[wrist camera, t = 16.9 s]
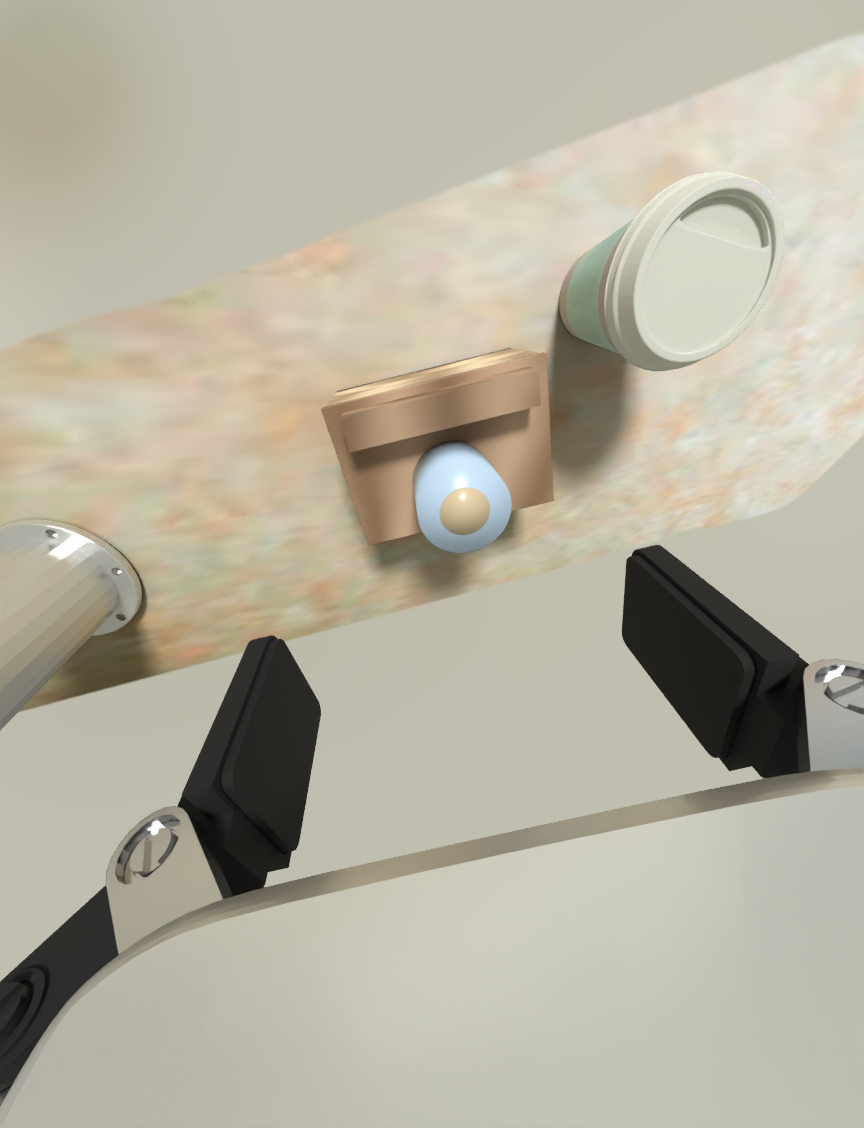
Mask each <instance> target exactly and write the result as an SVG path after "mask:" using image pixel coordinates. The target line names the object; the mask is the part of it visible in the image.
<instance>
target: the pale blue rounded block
mask: <svg viewBox="0 0 864 1128" xmlns="http://www.w3.org/2000/svg"><path fill="white" fill-rule="evenodd" d="M412 486H413V492H414V498H415V504H416V510H417V516H418V522H419V525H420V528H421V530H422V532H423V534H424V535H425V537H426V538H427V539H428V540H429V541H430V542H431V543H432V544H434V545H435V546H437V547H438V548H440V549H442V550H445V551H448V552H453V553H468V552H473V551H476V550H479V549H481V548H484V547H485V546H487V545H489V544H490V543H492V542H493V541H494V540H495V539H496V538H498V536H499V535H500V534H501V533H502V532H503V530H504V529H505V527H506V525H507V523H508V521H509V518H510V514H511V507H512V505H511V496H510V493H509V490H508V488H507V486H506V484H505V483H504V481H503V480H502V479H501V477H500V476H499V475H498V473H497V472H496V471H495V469H494V468H493V467H492V465H491V464H490V463H489V462H488V460H487V459H486V458H485V456H484V455H483V454H482V453H481V452H480V451H479V450H478V449H477V448H476V447H474V446H473V445H471V444H469V443H466V442H463V441H456V440H452V441H444V442H441V443H438V444H436V445H434V446H432V447H431V448H429V449H428V450H427V451H426V452H424V454H423V455H422V456H421V457H420V458H419V460H418V462H417V463H416V465H415V468H414V471H413V477H412Z"/></svg>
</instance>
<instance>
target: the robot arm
mask: <svg viewBox="0 0 864 1128" xmlns="http://www.w3.org/2000/svg"><path fill="white" fill-rule="evenodd" d="M624 593H625V594H624V607H623V623H622V636H623V640H624V642H625V644H626V645H627V647H628V648H629V650H630V651H631V652H632V653H633V655H634V656H635V658H636V659H637V660H638V661H639V663H640V664H641V665H642V667H643V668H644V669H645V671H646V672H647V673H648V675H649V676H650V677H651V679H652V680H653V681H654V683H655V684H656V685H657V686H658V688H659V689H660V690H661V692H662V693H663V694H664V696H665V697H666V698H667V700H668V701H669V702H670V704H671V705H672V706H673V707H674V709H675V710H676V712H677V713H678V714H679V716H680V717H681V718H682V720H683V721H684V722H685V723H686V725H687V726H688V727H689V729H690V730H691V731H692V733H693V734H694V735H695V737H696V738H697V739H698V740H699V742H700V743H701V745H702V746H703V747H704V749H705V750H706V751H707V752H708V753H709V754H710V755H711V756H712V757H714V758H718V757H719V758H720V760H721V761H722V762H723V764H725V766H726V767H727V769H728V770H729V771H732V770H737V769H741V768H746V767H750V766H753V768H754V769H755V770H756V771H757V772H758V773H759V775H760V776H761V777H763V779H762V780H756V781H751V782H746V783H741V784H736V785H730V786H725V787H720V788H715V789H710V790H705V791H700V792H695V793H690V794H685V795H680V796H676V797H671V798H666V799H662V800H657V801H652V802H647V803H643V804H638V805H633V806H629V807H624V808H619V809H614V810H610V811H605V812H600V813H596V814H591V815H587V816H582V817H577V818H572V819H568V820H563V821H558V822H554V823H549V824H545V825H540V826H536V827H531V828H526V829H522V830H517V831H512V832H508V833H503V834H499V835H494V836H489V837H485V838H480V839H476V840H471V841H467V842H462V843H457V844H453V845H448V846H444V847H440V848H435V849H430V850H426V851H422V852H417V853H413V854H408V855H403V856H399V857H394V858H391V859H386V860H381V861H377V862H372V863H368V864H363V865H359V866H354V867H350V868H345V869H341V870H337V871H332V872H327V873H323V874H319V875H315V876H311V877H307V878H302V879H298V880H294V881H290V882H286V883H282V884H278V885H274V886H270V887H265V888H264V885H265V882H266V877H267V873H268V872H270V871H275V870H279V869H284V868H288V867H289V862H290V857H291V852H292V851H294V850H296V848H297V846H298V843H299V839H300V834H301V828H302V821H303V816H304V810H305V804H306V798H307V792H308V787H309V781H310V775H311V769H312V763H313V757H314V751H315V746H316V740H317V734H318V728H319V722H320V716H321V709H320V704H319V702H318V700H317V698H316V696H315V694H314V693H313V691H312V689H311V688H310V686H309V684H308V682H307V680H306V679H305V677H304V675H303V673H302V672H301V670H300V668H299V666H298V665H297V663H296V661H295V659H294V658H293V656H292V654H291V652H290V651H289V649H288V647H287V645H286V644H285V642H284V641H283V640H282V639H277V638H276V637H275V636H267V637H263V638H258V639H254V640H251V641H250V642H249V643H248V645H247V647H246V650H245V652H244V654H243V657H242V659H241V661H240V663H239V666H238V668H237V670H236V673H235V675H234V677H233V679H232V682H231V684H230V686H229V688H228V691H227V693H226V695H225V697H224V700H223V702H222V704H221V707H220V709H219V711H218V713H217V716H216V718H215V720H214V722H213V725H212V727H211V729H210V731H209V734H208V736H207V738H206V740H205V743H204V745H203V747H202V750H201V752H200V754H199V756H198V759H197V761H196V763H195V765H194V768H193V770H192V772H191V775H190V777H189V779H188V781H187V784H186V786H185V788H184V791H183V793H182V797H181V799H180V802H179V804H178V806H177V807H176V806H173V807H165V808H163V809H160V810H158V811H156V812H154V813H152V814H150V815H149V816H147V817H146V818H144V819H143V820H142V821H140V822H139V823H138V824H137V825H136V826H135V827H134V828H133V829H132V830H131V831H130V832H129V833H128V834H127V835H126V836H125V838H124V839H123V840H122V841H121V843H120V844H119V846H118V847H117V849H116V851H115V852H114V854H113V856H112V857H111V860H110V863H109V865H108V868H107V871H106V886H105V887H103V888H102V889H101V890H100V891H99V892H98V893H97V894H96V895H95V896H94V897H93V898H91V899H90V900H89V901H88V902H87V903H86V904H85V905H84V906H83V907H82V908H80V909H79V910H78V911H77V912H76V913H75V914H74V915H73V916H72V917H71V918H69V919H68V920H67V921H66V922H65V923H64V924H63V925H62V926H61V927H60V928H59V929H58V930H56V931H55V932H54V933H53V934H52V935H51V936H50V937H49V938H48V939H46V940H45V941H44V942H43V943H42V944H41V945H40V946H39V947H38V948H37V949H36V950H34V951H33V952H32V953H31V954H30V955H29V956H28V957H27V958H26V959H25V960H23V961H22V962H21V963H20V964H19V965H18V966H17V967H16V968H15V969H14V970H13V971H12V972H10V973H9V974H8V975H7V976H6V977H5V978H4V979H3V980H2V981H1V982H0V1128H864V665H863V664H860V663H857V662H853V661H846V660H839V659H829V660H820V661H817V662H813V663H811V664H810V665H809V664H808V663H806V662H805V661H804V660H803V659H801V658H800V657H799V654H797V653H796V652H795V651H793V650H792V649H791V648H790V647H789V646H787V645H786V644H785V643H783V642H782V641H781V640H780V639H778V638H777V637H776V636H775V635H773V634H772V633H770V631H768V630H767V629H765V628H764V627H763V626H762V625H761V624H759V623H758V622H757V621H756V620H754V619H753V618H752V617H751V616H749V615H748V614H747V613H745V612H744V611H743V610H742V609H740V608H739V607H738V606H737V605H735V604H734V603H733V602H731V601H730V600H729V599H728V598H726V597H725V596H724V595H723V594H721V593H720V592H719V591H718V590H716V589H715V588H714V587H713V586H711V585H710V584H708V583H707V582H706V581H705V580H704V579H702V578H701V577H700V576H699V575H697V574H696V573H695V572H694V571H692V570H691V569H690V568H688V567H687V566H686V565H685V564H683V563H682V562H681V561H680V560H678V559H677V558H676V557H674V556H673V555H672V554H671V553H669V552H668V551H667V550H666V549H664V548H663V547H662V546H660V545H655V546H650V547H646V548H641V549H637V550H635V551H634V552H633V553H632V556H631V557H629V558H628V559H627V562H626V577H625V592H624ZM141 602H142V589H141V584H140V581H139V579H138V577H137V574H136V572H135V571H134V569H133V568H132V566H131V565H130V563H129V562H128V561H127V560H126V559H125V558H124V557H123V556H122V555H121V554H120V553H119V552H118V551H117V550H116V549H115V548H113V547H112V546H111V545H109V544H108V543H107V542H105V541H104V540H102V539H100V538H99V537H97V536H95V535H94V534H92V533H89V532H87V531H85V530H83V529H80V528H78V527H75V526H72V525H68V524H65V523H62V522H56V521H50V520H36V519H29V520H22V521H16V522H13V523H10V524H8V525H5V526H3V527H1V528H0V730H1V729H2V728H3V727H4V726H5V725H6V724H7V723H8V722H9V721H10V720H11V719H12V718H13V717H14V716H15V715H16V714H17V713H18V712H19V711H20V710H21V709H22V707H23V706H24V705H25V704H26V703H27V702H28V701H29V700H30V699H31V698H32V697H33V696H34V695H35V694H36V693H37V692H38V691H39V690H40V689H41V688H42V687H43V686H44V685H45V684H46V683H47V682H48V680H49V679H50V678H51V677H52V676H53V675H54V674H55V673H56V672H57V671H58V670H59V669H60V668H61V667H62V666H63V665H64V664H65V663H66V662H67V661H68V660H69V659H70V658H71V657H72V656H73V654H74V653H75V652H76V651H77V650H78V649H79V648H80V647H81V646H82V645H83V644H84V643H85V642H86V641H87V640H88V639H89V638H90V637H91V636H97V635H103V634H108V633H111V632H114V631H116V630H118V629H120V628H121V627H123V626H125V625H126V624H127V623H128V622H129V621H130V620H131V619H132V618H133V617H134V615H135V614H136V613H137V611H138V610H139V607H140V605H141Z"/></svg>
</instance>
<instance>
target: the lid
mask: <svg viewBox="0 0 864 1128" xmlns="http://www.w3.org/2000/svg"><path fill="white" fill-rule="evenodd" d="M321 411H322V414H323V416H324V419H325V422H326V425H327V428H328V431H329V434H330V437H331V439H332V442H333V445H334V448H335V451H336V454H337V457H338V459H339V462H340V465H341V468H342V471H343V474H344V477H345V480H346V482H347V485H348V488H349V491H350V494H351V497H352V500H353V503H354V505H355V508H356V511H357V514H358V517H359V520H360V523H361V525H362V528H363V531H364V534H365V537H366V540H367V543H368V545H372V544H376V543H380V542H384V541H389V540H393V539H397V538H401V537H405V536H409V535H414V534H418V533H422V530H421V528H420V525H419V522H418V516H417V510H416V504H415V498H414V492H413V486H412V477H413V471H414V468H415V465H416V463H417V462H418V460H419V458H420V457H421V456H422V455H423V454H424V452H426V451H427V450H428V449H429V448H431V447H432V446H434V445H436V444H438V443H441V442H444V441H452V440H456V441H463V442H466V443H469V444H471V445H473V446H474V447H476V448H477V449H478V450H479V451H480V452H481V453H482V454H483V455H484V456H485V458H486V459H487V460H488V462H489V463H490V464H491V465H492V467H493V468H494V469H495V471H496V472H497V473H498V475H499V476H500V477H501V479H502V480H503V481H504V483H505V484H506V486H507V488H508V490H509V493H510V496H511V505H512V507H511V511H514V510H518V509H522V508H526V507H530V506H534V505H539V504H543V503H547V502H551V501H554V495H553V474H552V454H551V434H550V413H549V393H548V373H547V353H538V354H534V355H530V356H526V357H522V358H518V359H514V360H510V361H506V362H502V363H498V364H494V365H490V366H486V367H482V368H478V369H474V370H470V371H466V372H462V373H458V374H454V375H450V376H446V377H442V378H438V379H434V380H430V381H426V382H422V383H418V384H414V385H410V386H406V387H402V388H398V389H394V390H390V391H386V392H382V393H378V394H374V395H370V396H366V397H362V398H358V399H354V400H350V401H346V402H342V403H338V404H334V405H330V406H326V407H323V408H322V409H321Z"/></svg>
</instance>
